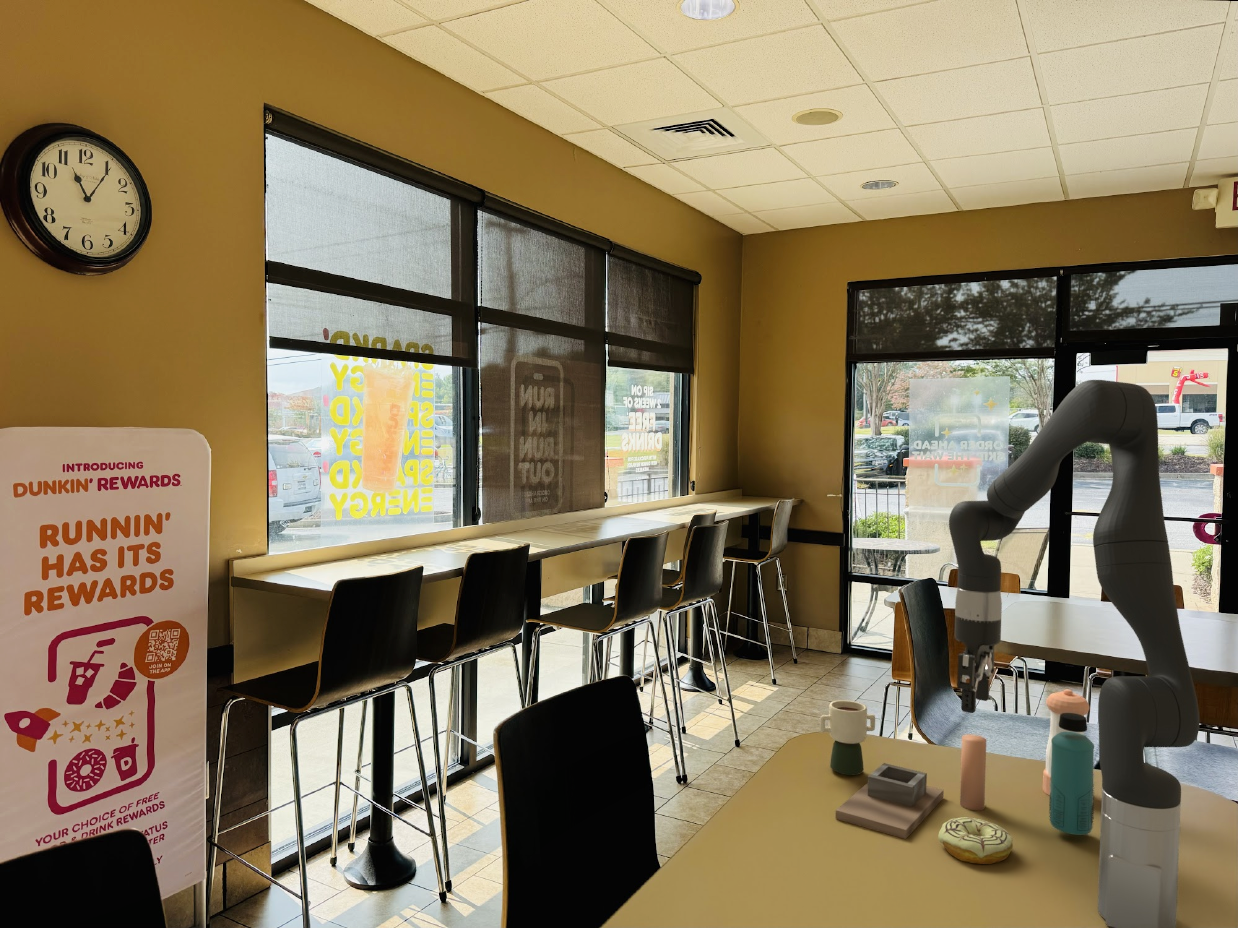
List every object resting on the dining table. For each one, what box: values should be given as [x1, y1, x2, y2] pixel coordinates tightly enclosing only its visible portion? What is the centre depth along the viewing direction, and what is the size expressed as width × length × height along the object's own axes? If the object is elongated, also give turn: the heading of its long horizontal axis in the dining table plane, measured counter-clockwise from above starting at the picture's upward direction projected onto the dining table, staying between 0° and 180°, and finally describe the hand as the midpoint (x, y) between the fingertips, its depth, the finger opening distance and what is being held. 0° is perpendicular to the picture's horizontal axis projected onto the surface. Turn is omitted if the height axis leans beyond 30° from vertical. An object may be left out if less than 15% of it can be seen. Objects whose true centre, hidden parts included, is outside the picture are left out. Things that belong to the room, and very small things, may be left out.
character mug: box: [819, 699, 876, 776], centre depth 172 cm, size 11×7×13 cm, turn 95°
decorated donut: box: [938, 816, 1014, 865], centre depth 141 cm, size 10×11×4 cm
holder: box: [835, 762, 944, 840], centre depth 156 cm, size 20×12×5 cm, turn 143°
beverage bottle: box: [1048, 713, 1095, 836], centre depth 146 cm, size 6×7×20 cm
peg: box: [959, 734, 987, 811], centre depth 157 cm, size 4×4×12 cm
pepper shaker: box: [1042, 688, 1090, 796], centre depth 163 cm, size 7×7×19 cm
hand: (975, 705), depth 157 cm, fingers open, 8 cm apart
